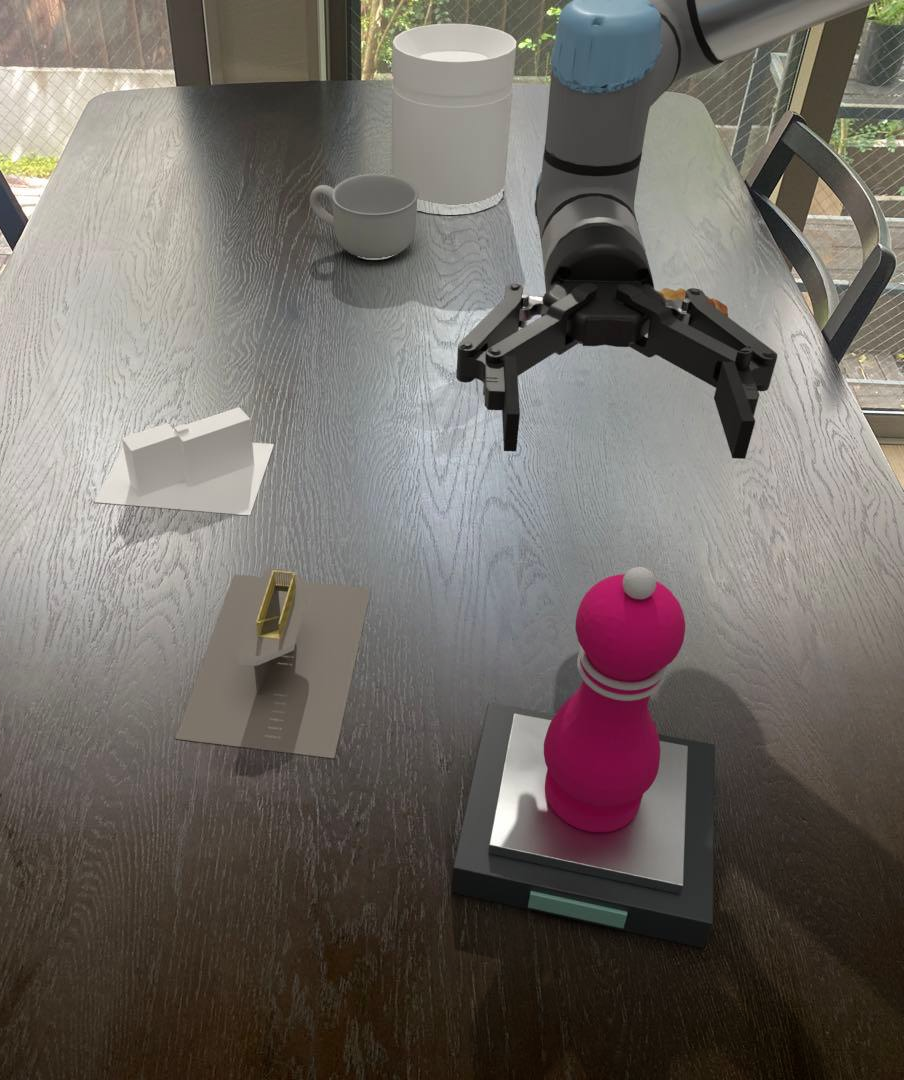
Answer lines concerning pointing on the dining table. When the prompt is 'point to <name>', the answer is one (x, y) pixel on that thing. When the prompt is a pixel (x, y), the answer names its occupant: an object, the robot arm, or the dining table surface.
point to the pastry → (680, 294)
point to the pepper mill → (613, 702)
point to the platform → (278, 666)
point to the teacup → (370, 213)
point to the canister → (452, 110)
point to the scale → (580, 892)
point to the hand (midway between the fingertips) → (627, 437)
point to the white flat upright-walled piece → (190, 466)
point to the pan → (623, 855)
